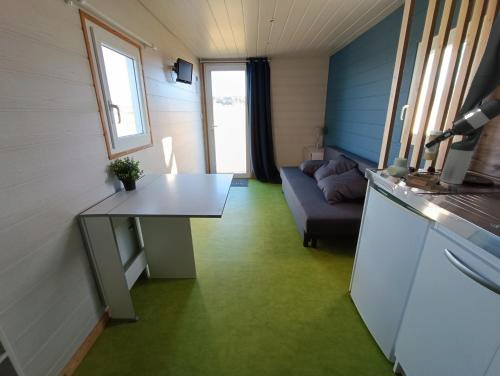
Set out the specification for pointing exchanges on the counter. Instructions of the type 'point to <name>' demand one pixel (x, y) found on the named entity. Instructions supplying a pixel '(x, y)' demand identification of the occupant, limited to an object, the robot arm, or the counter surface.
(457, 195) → the counter surface
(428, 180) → the spice socket
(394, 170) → the air freshener
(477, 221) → the counter surface
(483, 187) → the counter surface
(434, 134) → the sprinkles bottle
